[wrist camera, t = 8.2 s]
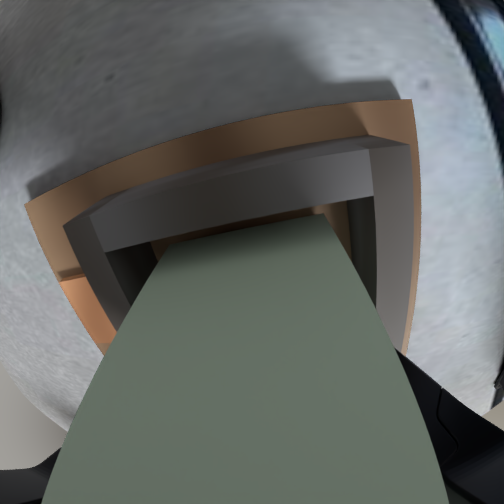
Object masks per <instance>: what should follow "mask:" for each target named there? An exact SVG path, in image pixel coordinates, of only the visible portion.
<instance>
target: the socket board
mask: <svg viewBox="0 0 504 504" xmlns="http://www.w3.org/2000/svg"><path fill="white" fill-rule="evenodd" d="M24 205H25V208H26V211H27V213H28V216H29V219H30V221H31V224H32V226H33V229H34V231H35V234H36V236H37V238H38V241H39V243H40V245H41V247H42V250H43V252H44V254H45V256H46V258H47V260H48V262H49V264H50V266H51V268H52V270H53V272H54V274H55V276H56V278H57V280H58V282H59V284H60V286H61V288H62V290H63V291H64V293H65V295H66V297H67V299H68V300H69V302H70V304H71V306H72V307H73V309H74V311H75V312H76V314H77V316H78V317H79V319H80V321H81V322H82V324H83V325H84V327H85V328H86V330H87V332H88V333H89V335H90V336H91V338H92V339H93V341H94V342H95V344H96V345H97V347H98V348H99V349H100V351H101V352H102V354H103V355H104V356H105V354H106V352H107V350H108V348H109V346H110V344H111V342H112V341H113V339H114V337H115V335H116V333H117V331H118V330H119V328H120V326H121V324H122V322H123V321H124V319H125V317H126V315H127V314H128V312H129V310H130V308H131V307H132V305H133V303H134V301H135V300H136V298H137V296H138V295H139V293H140V291H141V290H142V288H143V286H144V285H145V283H146V281H147V280H148V278H149V276H150V275H151V273H152V272H153V270H154V268H155V267H156V265H157V264H158V262H159V260H160V259H161V257H162V256H163V254H164V253H165V251H166V249H167V248H168V246H169V245H170V244H175V243H179V242H184V241H188V240H193V239H198V238H202V237H207V236H212V235H216V234H221V233H226V232H231V231H235V230H240V229H245V228H250V227H255V226H260V225H265V224H270V223H275V222H280V221H285V220H290V219H295V218H301V217H306V216H311V215H316V214H322V213H324V215H325V217H326V218H327V220H328V222H329V223H330V225H331V227H332V229H333V230H334V232H335V234H336V235H337V237H338V239H339V241H340V242H341V244H342V246H343V248H344V249H345V251H346V253H347V255H348V257H349V258H350V260H351V262H352V264H353V266H354V268H355V269H356V271H357V273H358V275H359V277H360V279H361V281H362V283H363V285H364V286H365V288H366V290H367V292H368V294H369V296H370V298H371V300H372V302H373V304H374V306H375V308H376V310H377V312H378V314H379V316H380V318H381V320H382V322H383V325H384V327H385V329H386V331H387V333H388V335H389V337H390V339H391V342H392V344H393V346H394V347H395V348H396V349H397V350H398V351H400V352H401V353H402V354H403V355H404V356H406V352H407V347H408V342H409V337H410V331H411V326H412V320H413V313H414V306H415V299H416V291H417V282H418V271H419V258H420V241H421V181H420V164H419V151H418V141H417V132H416V124H415V117H414V110H413V104H412V99H402V100H379V101H364V102H353V103H343V104H334V105H326V106H318V107H311V108H304V109H298V110H292V111H286V112H281V113H275V114H270V115H265V116H260V117H256V118H251V119H247V120H242V121H238V122H234V123H230V124H226V125H222V126H218V127H214V128H211V129H207V130H203V131H200V132H196V133H193V134H189V135H186V136H183V137H180V138H176V139H173V140H170V141H167V142H164V143H161V144H158V145H155V146H152V147H150V148H147V149H144V150H141V151H138V152H136V153H133V154H130V155H128V156H125V157H123V158H120V159H118V160H115V161H113V162H110V163H108V164H105V165H103V166H101V167H98V168H96V169H94V170H92V171H89V172H87V173H85V174H83V175H80V176H78V177H76V178H74V179H72V180H70V181H68V182H66V183H64V184H62V185H60V186H58V187H56V188H54V189H52V190H50V191H48V192H46V193H44V194H42V195H40V196H38V197H37V198H35V199H33V200H31V201H29V202H28V203H26V204H24Z"/></svg>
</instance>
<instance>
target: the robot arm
mask: <svg viewBox="0 0 504 504" xmlns="http://www.w3.org/2000/svg"><path fill="white" fill-rule="evenodd" d="M394 348H395V347H394ZM395 350H396V353H397V355H398V357H399V359H400V362H401V364H402V366H403V369H404V371H405V373H406V376H407V378H408V381H409V383H410V386H411V388H412V390H413V393H414V395H415V398H416V401H417V403H418V406H419V408H420V411H421V414H422V416H423V419H424V422H425V425H426V428H427V430H428V433H429V436H430V439H431V442H432V445H433V448H434V451H435V455H436V458H437V461H438V464H439V468H440V471H441V475H442V478H443V482H444V485H445V489H446V493H447V497H448V501H449V504H504V431H503V430H501V429H500V428H498V427H497V426H495V425H494V424H492V423H491V422H489V421H487V420H486V419H484V418H482V417H481V416H480V415H478V414H477V413H475V412H474V411H472V410H471V409H469V408H468V407H467V406H465V405H464V404H462V403H461V402H460V401H459V400H457V399H456V398H455V397H454V396H452V395H451V394H450V393H449V392H448V391H446V390H445V389H444V388H442V387H441V386H440V385H439V384H438V383H437V382H436V381H434V380H433V379H432V378H431V377H430V376H428V375H427V374H426V373H425V372H424V371H422V370H421V369H420V368H419V367H418V366H416V365H415V364H414V363H413V362H412V361H410V360H409V359H408V358H407V357H406V356H404V355H403V354H402V353H401V352H400V351H398V350H397V349H396V348H395ZM501 386H502V388H503V390H504V370H503V372H502V373H501V375H500V377H499V378H498V380H497V382H496V384H495V385H494V387H495V389H498V388H500V387H501ZM441 388H442V389H441ZM61 448H62V447H61ZM61 448H59V449H58V450H57V451H56V452H54V453H53V454H52V455H51V456H49V458H47V459H46V460H44V461H43V462H42V463H40V464H39V465H37V466H35V467H32V468H27V469H15V470H0V504H41V503H42V500H43V496H44V493H45V490H46V487H47V485H48V482H49V479H50V476H51V473H52V471H53V468H54V465H55V463H56V460H57V458H58V455H59V453H60V450H61Z"/></svg>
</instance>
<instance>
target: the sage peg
mask: <svg viewBox="0 0 504 504" xmlns="http://www.w3.org/2000/svg"><path fill="white" fill-rule="evenodd" d="M41 504H449V501H448V497H447V493H446V489H445V485H444V482H443V478H442V475H441V471H440V468H439V464H438V461H437V458H436V455H435V451H434V448H433V445H432V442H431V439H430V436H429V433H428V430H427V428H426V425H425V422H424V419H423V416H422V414H421V411H420V408H419V406H418V403H417V401H416V398H415V395H414V393H413V390H412V388H411V386H410V383H409V381H408V378H407V376H406V373H405V371H404V369H403V366H402V364H401V362H400V359H399V357H398V355H397V353H396V350H395V348H394V346H393V344H392V342H391V339H390V337H389V335H388V333H387V331H386V329H385V327H384V325H383V322H382V320H381V318H380V316H379V314H378V312H377V310H376V308H375V306H374V304H373V302H372V300H371V298H370V296H369V294H368V292H367V290H366V288H365V286H364V285H363V283H362V281H361V279H360V277H359V275H358V273H357V271H356V269H355V268H354V266H353V264H352V262H351V260H350V258H349V257H348V255H347V253H346V251H345V249H344V248H343V246H342V244H341V242H340V241H339V239H338V237H337V235H336V234H335V232H334V230H333V229H332V227H331V225H330V223H329V222H328V220H327V218H326V217H325V215H324V213H322V214H316V215H311V216H306V217H301V218H295V219H290V220H285V221H280V222H275V223H270V224H265V225H260V226H255V227H250V228H245V229H240V230H235V231H231V232H226V233H221V234H216V235H212V236H207V237H202V238H198V239H193V240H188V241H184V242H179V243H175V244H170V245H169V246H168V248H167V249H166V251H165V253H164V254H163V256H162V257H161V259H160V260H159V262H158V264H157V265H156V267H155V268H154V270H153V272H152V273H151V275H150V276H149V278H148V280H147V281H146V283H145V285H144V286H143V288H142V290H141V291H140V293H139V295H138V296H137V298H136V300H135V301H134V303H133V305H132V307H131V308H130V310H129V312H128V314H127V315H126V317H125V319H124V321H123V322H122V324H121V326H120V328H119V330H118V331H117V333H116V335H115V337H114V339H113V341H112V342H111V344H110V346H109V348H108V350H107V352H106V354H105V356H104V357H103V359H102V361H101V363H100V365H99V367H98V369H97V371H96V373H95V375H94V377H93V379H92V381H91V383H90V385H89V387H88V389H87V391H86V393H85V395H84V398H83V400H82V402H81V404H80V406H79V408H78V410H77V413H76V415H75V417H74V419H73V422H72V424H71V426H70V428H69V431H68V433H67V436H66V438H65V440H64V443H63V445H62V448H61V450H60V453H59V455H58V458H57V460H56V463H55V465H54V468H53V471H52V473H51V476H50V479H49V482H48V485H47V487H46V490H45V493H44V496H43V500H42V503H41Z"/></svg>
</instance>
